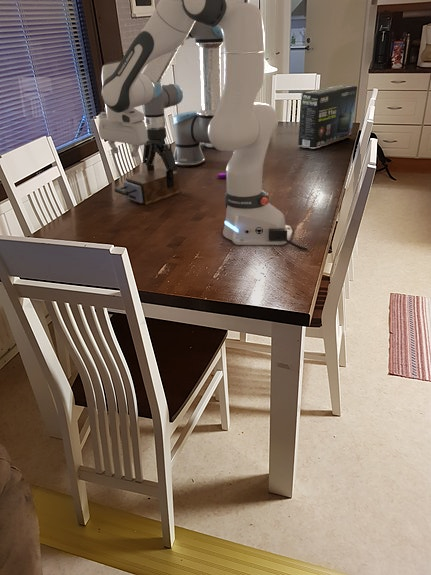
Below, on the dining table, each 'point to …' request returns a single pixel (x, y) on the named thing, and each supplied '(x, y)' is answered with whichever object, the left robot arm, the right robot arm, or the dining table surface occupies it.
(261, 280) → the dining table surface
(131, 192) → the drawer
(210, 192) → the dining table surface
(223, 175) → the handgun
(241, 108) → the right robot arm
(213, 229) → the dining table surface
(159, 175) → the cabinet
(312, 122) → the router box
